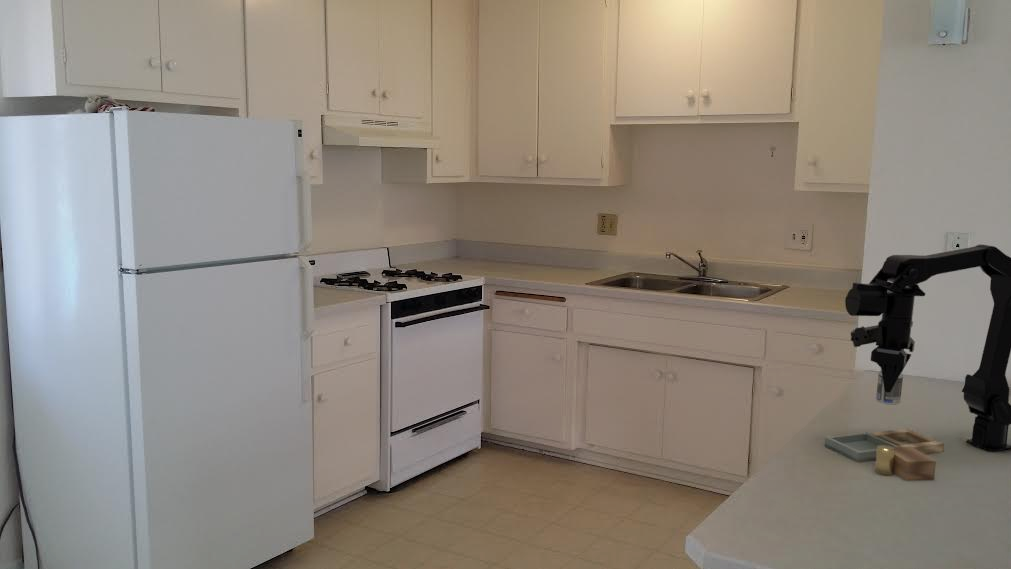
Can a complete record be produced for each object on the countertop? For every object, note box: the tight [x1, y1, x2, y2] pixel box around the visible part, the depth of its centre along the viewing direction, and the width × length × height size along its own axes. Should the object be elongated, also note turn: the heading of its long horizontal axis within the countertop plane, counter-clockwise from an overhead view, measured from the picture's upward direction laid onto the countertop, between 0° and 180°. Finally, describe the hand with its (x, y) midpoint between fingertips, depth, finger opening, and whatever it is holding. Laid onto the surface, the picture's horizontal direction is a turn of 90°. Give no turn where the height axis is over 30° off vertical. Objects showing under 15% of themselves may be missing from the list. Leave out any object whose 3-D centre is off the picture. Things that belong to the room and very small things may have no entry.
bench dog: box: [874, 445, 895, 476], centre depth 167 cm, size 3×3×5 cm
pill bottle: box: [875, 370, 904, 406], centre depth 179 cm, size 5×5×8 cm
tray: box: [824, 431, 899, 463], centre depth 179 cm, size 11×10×2 cm
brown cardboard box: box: [893, 447, 937, 481], centre depth 167 cm, size 6×8×4 cm
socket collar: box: [869, 428, 945, 455], centre depth 183 cm, size 10×10×2 cm
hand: (889, 389), depth 179 cm, fingers closed on pill bottle, 5 cm apart
